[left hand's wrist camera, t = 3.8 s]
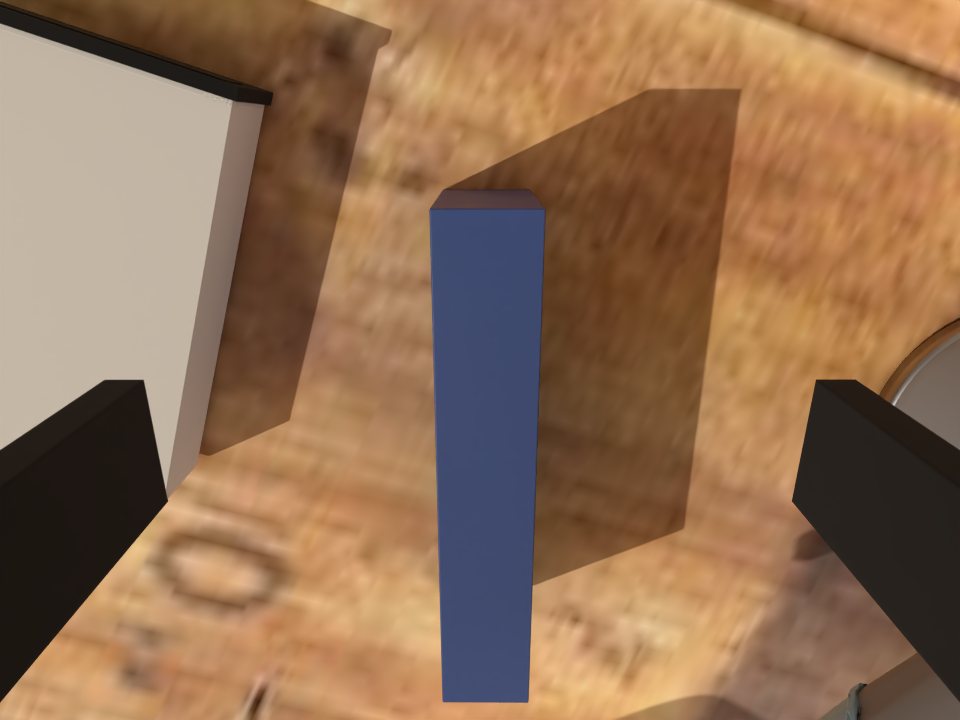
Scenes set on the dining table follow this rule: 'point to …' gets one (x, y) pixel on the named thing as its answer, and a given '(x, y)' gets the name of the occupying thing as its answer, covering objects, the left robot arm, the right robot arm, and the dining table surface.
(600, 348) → the dining table surface
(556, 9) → the dining table surface
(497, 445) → the bar
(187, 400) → the disc drive
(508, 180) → the dining table surface
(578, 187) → the dining table surface
